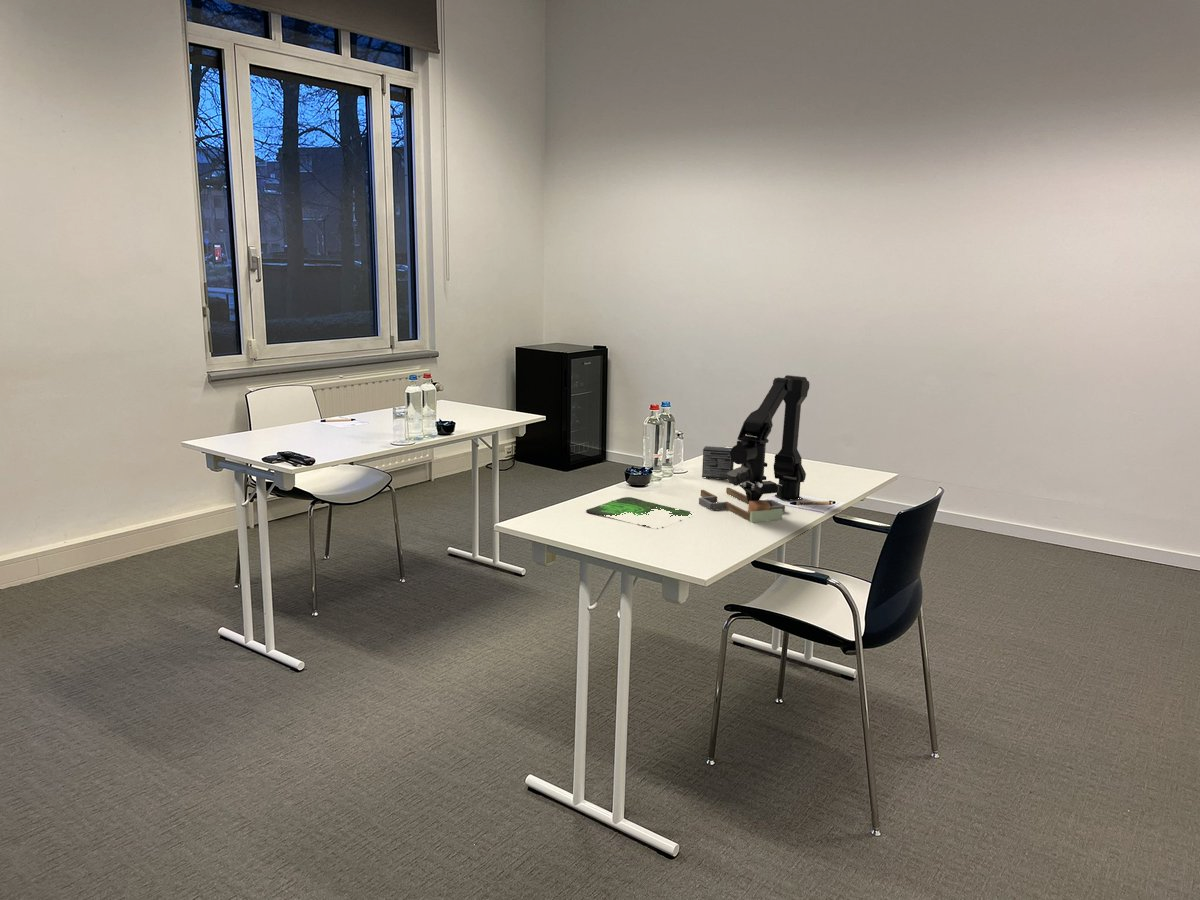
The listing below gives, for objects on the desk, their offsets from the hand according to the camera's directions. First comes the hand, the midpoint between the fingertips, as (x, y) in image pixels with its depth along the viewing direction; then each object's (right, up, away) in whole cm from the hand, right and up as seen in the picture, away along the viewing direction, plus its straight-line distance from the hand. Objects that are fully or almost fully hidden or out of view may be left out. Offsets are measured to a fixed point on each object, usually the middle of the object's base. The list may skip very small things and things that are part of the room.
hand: (751, 509), depth 268 cm
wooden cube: (+1, -2, -3) cm, 4 cm away
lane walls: (-3, 0, +7) cm, 8 cm away
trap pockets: (-2, 0, +6) cm, 6 cm away
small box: (-4, +8, +45) cm, 46 cm away
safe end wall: (+3, -3, -7) cm, 8 cm away
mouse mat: (-34, -2, -2) cm, 34 cm away
